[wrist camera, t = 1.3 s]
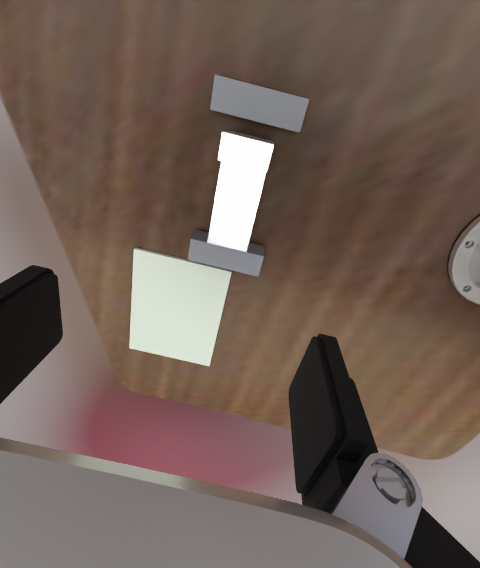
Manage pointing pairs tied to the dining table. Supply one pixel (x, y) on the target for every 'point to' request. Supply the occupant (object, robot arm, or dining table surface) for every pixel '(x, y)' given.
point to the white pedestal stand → (238, 188)
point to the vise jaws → (257, 108)
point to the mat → (176, 306)
